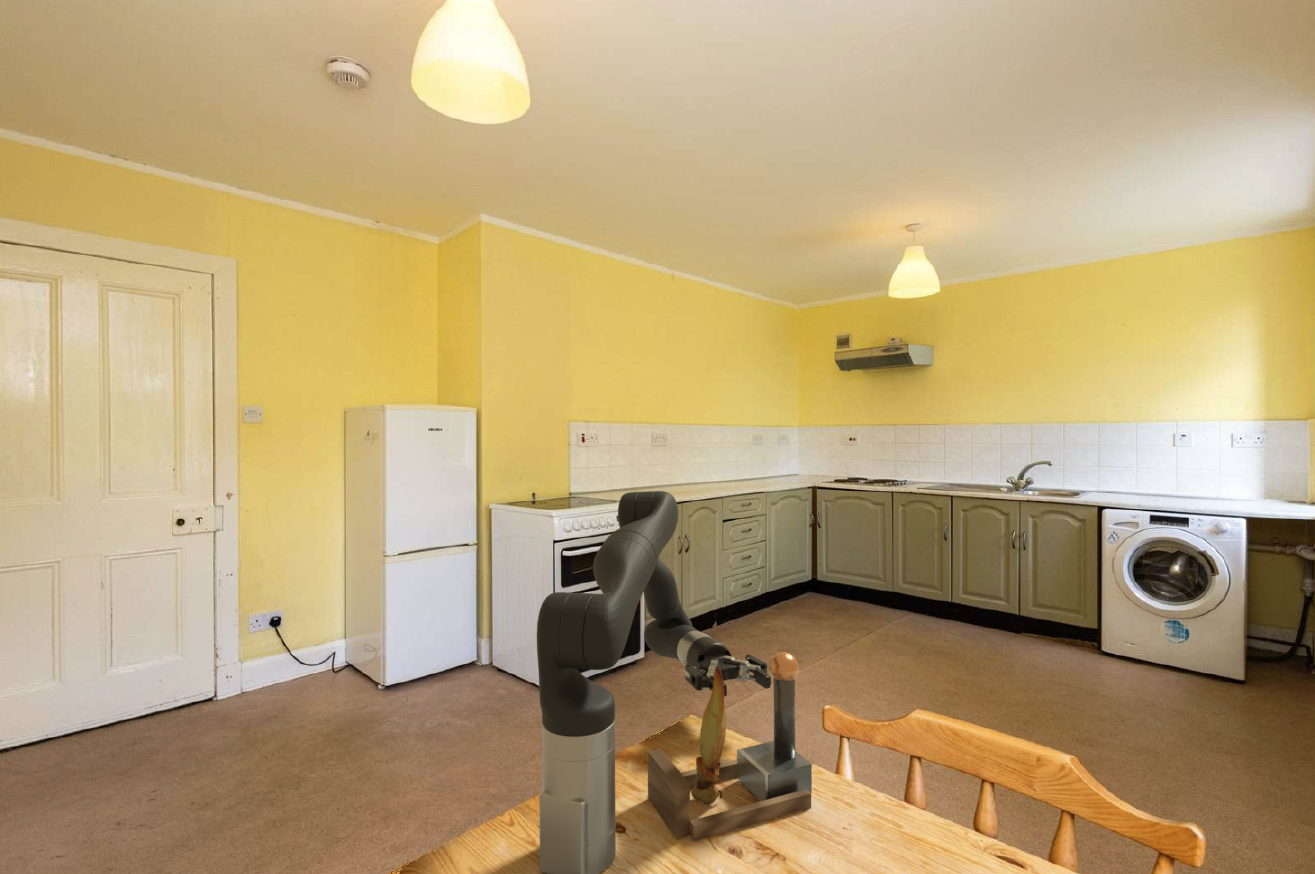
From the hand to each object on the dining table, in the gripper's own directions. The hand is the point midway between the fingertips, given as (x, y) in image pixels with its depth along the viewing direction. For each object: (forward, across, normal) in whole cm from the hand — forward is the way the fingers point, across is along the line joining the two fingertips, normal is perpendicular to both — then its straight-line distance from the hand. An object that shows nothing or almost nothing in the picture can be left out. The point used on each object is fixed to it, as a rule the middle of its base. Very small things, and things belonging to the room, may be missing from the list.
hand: (747, 687), depth 104 cm
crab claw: (+11, -13, +11) cm, 20 cm away
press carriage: (+11, -2, +11) cm, 15 cm away
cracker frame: (+11, -10, +11) cm, 18 cm away
